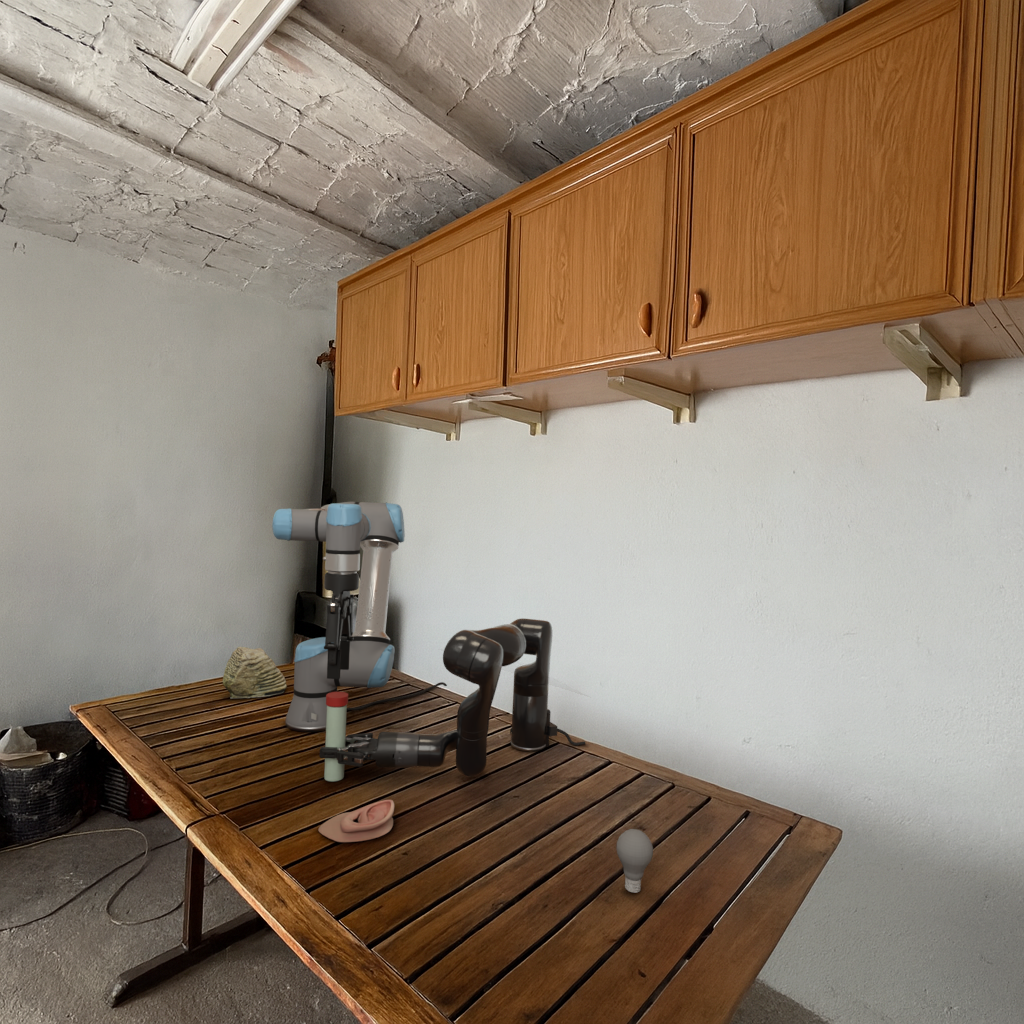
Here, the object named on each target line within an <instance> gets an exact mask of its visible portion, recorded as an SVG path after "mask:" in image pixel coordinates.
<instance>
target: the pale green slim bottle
mask: <svg viewBox="0 0 1024 1024" xmlns="http://www.w3.org/2000/svg"><path fill="white" fill-rule="evenodd" d="M347 706H348V704H347V705H345V706H341V707H330V706H327V720H326V730H325V741H326V746H325V745H324V747H337V748H339V747H345V737H347V711H348V710H347V708H348V707H347ZM344 777H345V764H339V763H338V760H337V758H324V775H323V778H324V780H325V781H327V782H339V781H341V780H343V779H344Z"/></svg>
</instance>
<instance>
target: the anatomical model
mask: <svg viewBox="0 0 1024 1024" xmlns="http://www.w3.org/2000/svg"><path fill="white" fill-rule="evenodd" d="M394 812H395V801H394V800H392V799H384V800H380V801H377V802H373V803H370V804H368V805H365V806H363V807H360V808H357V809H355V810H353V811H348V812H343V813H340V814H337V815H334V816H333V817H331V818H330V819H328V820H326V821H325V822H323V823H322V824H321V825H320V826H319V827H318V829H317V830H318V832H319V834H321V835H322V836H324V837H325V838H328V839H330V840H332V841H334V842H337V843H355V842H363V841H370V840H374V839H376V838H380V837H382V836H384V835H386V834H388V833H389V832H390V831H391V830H392V828H393V826H394V818H393V815H394Z"/></svg>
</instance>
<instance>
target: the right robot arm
mask: <svg viewBox="0 0 1024 1024" xmlns="http://www.w3.org/2000/svg"><path fill="white" fill-rule="evenodd" d="M552 645H553V627H552V624H551V622H550V621H548V620H544V619H543V620H542V619H534V618H523V617H522V618H517V619H515V620H513V621H511V622H510V623H506V624H499V625H496V626H493V627H489V628H488V627H487V628H484V629H462V630H459V631H457V632H456V633H455V634H454V635H452V637H450V638H449V640H448V641H447V643H446V645H445V647H444V649H443V654H442V663H443V666H444V668H445V669H446V670H447V671H448V672H449V673H450V674H452V675H454V676H456V677H458V678H461V679H463V680H464V681H467V682H470V683H472V684H474V685H478V688H477V689H476V690H474V691H473V692H471V693H470V694H468V696H466V697H465V698H464V699H463V700H462V701H461V703H460V704H459V706H458V709H457V713H456V729H454V730H450V731H446V732H443V733H442V732H441V733H436V734H435V733H415V732H406V731H405V732H402V731H380V732H379V734H378V735H377V738H374V733H373V732H365V733H354V734H346V737H345V747H339V748H337V747H325V746H326V740H325V741H324V746H321V747H320V748H319V758H320V759H325V758H337V760H338V763H339V764H344V766H345V765H346V766H352V767H359V768H362V767H364V762H368V761H375V766H376V767H377V768H398V769H400V768H401V769H402V768H403V769H408V768H409V769H410V768H439V767H441V766H442V765H443V764H444V763H445V760H446V757H447V755H448V753H450V752H453V751H455V761H454V762H455V767H456V769H457V771H458V772H459V773H460V774H461V775H463V776H465V777H468V778H473V777H477V776H479V775H480V774H482V772H483V771H484V770H485V769H486V767H487V759H488V757H487V756H488V755H487V753H488V752H487V751H488V734H489V727H490V715H491V714H490V713H491V710H492V709H491V708H492V704H493V701H494V697H495V695H496V691H497V688H498V687H497V686H498V684H499V679H500V676H501V672H502V668H503V667H507V666H510V665H512V664H514V663H516V662H518V661H519V660H520V659H522V658H523V656H524V655H529V656H536V657H535V661H533V662H531V663H528V664H522V665H520V666H519V665H518V666H517V667H516V668H515V669H514V671H513V689H512V711H511V727H510V730H509V734H510V746H511V747H512V748H513V749H515V750H518V751H522V752H539V751H542V750H545V748H548V747H550V738H551V737H556V736H558V733H560V734H562V735H564V736H565V737H566V739H567V741H568V743H569V744H570V745H572V746H575V747H576V746H583V745H584V746H585V745H586V741H579V742H575V741H573V740H572V738H571V736H570V735H569V733H567V732H566V731H565V730H563V729H560V728H558V725H556V724H555V723H553V722H552V721H551V710H550V709H549V707H548V706H549V705H548V704H549V685H550V684H549V683H550V669H551V655H552Z"/></svg>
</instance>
